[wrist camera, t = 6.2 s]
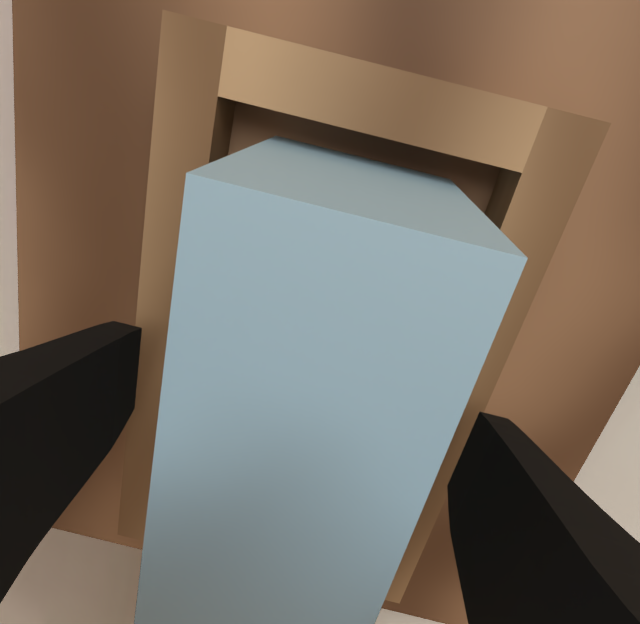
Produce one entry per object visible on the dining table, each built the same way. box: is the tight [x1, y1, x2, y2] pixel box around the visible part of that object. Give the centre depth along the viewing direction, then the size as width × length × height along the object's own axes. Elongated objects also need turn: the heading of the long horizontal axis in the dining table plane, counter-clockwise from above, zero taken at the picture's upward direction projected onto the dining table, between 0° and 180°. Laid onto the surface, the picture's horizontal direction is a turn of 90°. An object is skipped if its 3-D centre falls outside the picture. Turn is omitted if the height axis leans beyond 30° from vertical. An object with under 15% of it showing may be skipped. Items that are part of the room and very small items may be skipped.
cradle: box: [12, 0, 640, 624], centre depth 13 cm, size 16×18×2 cm
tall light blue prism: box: [134, 136, 528, 624], centre depth 10 cm, size 4×9×6 cm, turn 167°
